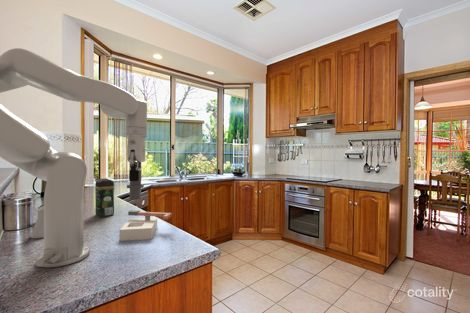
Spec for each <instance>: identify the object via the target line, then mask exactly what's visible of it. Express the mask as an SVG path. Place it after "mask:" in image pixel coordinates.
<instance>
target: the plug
mask: <svg viewBox="0 0 470 313" xmlns="http://www.w3.org/2000/svg"><path fill="white" fill-rule="evenodd" d="M138 170H139V180H138V181H129V184H127V185H126V189H129V200H130V201H135V200H141V198H142V189H143V188H144V187H145V185H144V184H143V183H142V173H141V170H142V167H141V168H138Z"/></svg>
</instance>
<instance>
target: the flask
mask: <svg viewBox="0 0 470 313" xmlns="http://www.w3.org/2000/svg"><path fill="white" fill-rule="evenodd" d="M36 212H37V217H36V221H35V224H34V226H33V228H32V230H31V232H30V235H29V238H31V239H44V209H39V210H38V209H37V210H36Z"/></svg>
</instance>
